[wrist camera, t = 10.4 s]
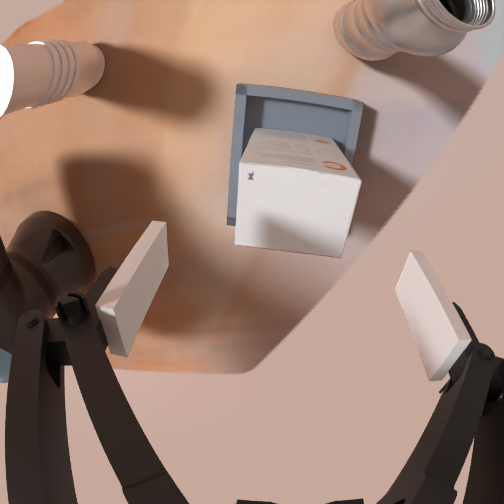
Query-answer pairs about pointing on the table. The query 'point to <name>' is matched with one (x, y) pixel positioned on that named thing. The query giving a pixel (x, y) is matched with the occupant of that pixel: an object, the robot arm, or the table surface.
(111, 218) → the table surface
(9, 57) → the white bottle
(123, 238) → the table surface
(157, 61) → the table surface
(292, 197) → the small box
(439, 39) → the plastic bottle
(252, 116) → the tray
